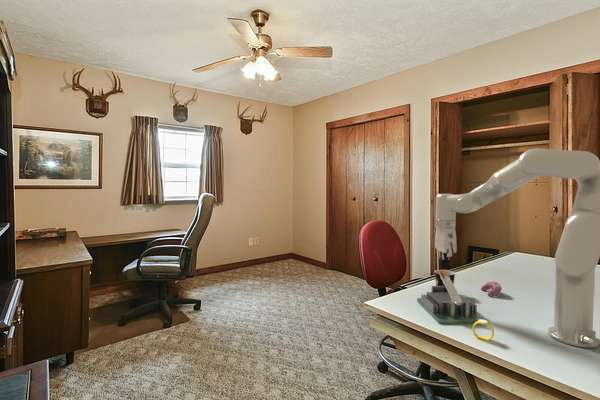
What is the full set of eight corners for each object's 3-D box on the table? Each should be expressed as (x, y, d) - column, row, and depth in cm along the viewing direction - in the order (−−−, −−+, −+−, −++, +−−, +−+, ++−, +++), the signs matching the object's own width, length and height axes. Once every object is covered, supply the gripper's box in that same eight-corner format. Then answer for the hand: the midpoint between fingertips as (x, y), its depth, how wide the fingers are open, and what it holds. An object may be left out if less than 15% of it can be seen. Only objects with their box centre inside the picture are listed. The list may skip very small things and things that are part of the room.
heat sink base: (486, 323, 113) (486, 304, 113) (439, 323, 113) (439, 304, 113) (456, 301, 135) (456, 285, 135) (417, 301, 135) (417, 285, 135)
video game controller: (497, 301, 140) (505, 287, 139) (487, 295, 141) (495, 282, 140) (488, 293, 150) (496, 281, 149) (479, 288, 150) (486, 276, 149)
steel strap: (463, 306, 116) (464, 304, 115) (455, 306, 116) (456, 304, 115) (445, 271, 131) (445, 269, 130) (437, 271, 131) (438, 269, 130)
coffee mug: (435, 289, 151) (435, 269, 151) (455, 292, 147) (455, 271, 146) (432, 296, 141) (432, 274, 141) (453, 300, 137) (453, 277, 137)
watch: (472, 338, 103) (471, 320, 103) (473, 335, 105) (472, 317, 105) (493, 342, 99) (492, 323, 99) (494, 339, 102) (493, 320, 102)
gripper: (463, 226, 119) (462, 274, 120) (446, 222, 134) (445, 264, 135) (444, 226, 119) (442, 273, 120) (428, 221, 134) (427, 264, 135)
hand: (444, 268), depth 128 cm, fingers closed
